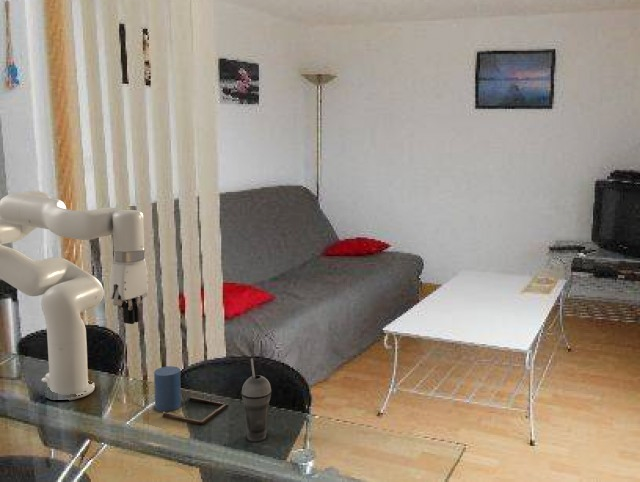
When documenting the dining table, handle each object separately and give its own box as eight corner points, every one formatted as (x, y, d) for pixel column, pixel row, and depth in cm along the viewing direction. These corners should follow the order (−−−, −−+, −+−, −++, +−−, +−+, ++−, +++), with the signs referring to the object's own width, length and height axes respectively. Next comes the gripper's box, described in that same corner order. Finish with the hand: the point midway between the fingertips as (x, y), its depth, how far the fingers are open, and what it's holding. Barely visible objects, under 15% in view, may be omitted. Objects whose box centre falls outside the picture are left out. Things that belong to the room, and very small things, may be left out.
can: (149, 409, 162) (148, 373, 161) (166, 399, 168) (165, 364, 167) (170, 413, 160) (169, 377, 159) (186, 403, 166) (185, 368, 165)
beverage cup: (264, 445, 145) (264, 366, 142) (236, 442, 146) (235, 362, 143) (276, 431, 152) (276, 355, 149) (249, 428, 153) (248, 352, 150)
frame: (162, 417, 158) (162, 414, 157) (191, 399, 169) (191, 396, 169) (201, 425, 154) (201, 422, 154) (228, 406, 165) (228, 403, 165)
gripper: (138, 250, 171) (140, 313, 173) (95, 260, 156) (98, 329, 159) (160, 252, 168) (161, 316, 171) (119, 262, 154) (121, 332, 156)
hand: (131, 322), depth 165 cm, fingers closed
